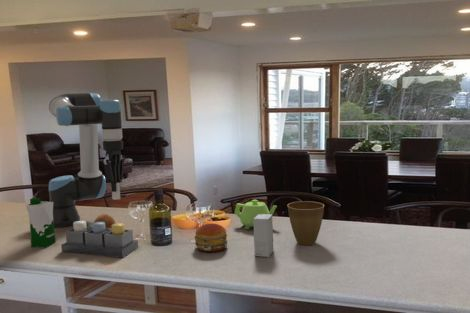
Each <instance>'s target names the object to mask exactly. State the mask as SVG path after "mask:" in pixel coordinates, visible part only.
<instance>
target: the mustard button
mask: <svg viewBox="0 0 470 313" xmlns="http://www.w3.org/2000/svg"><path fill="white" fill-rule="evenodd" d="M125 229H126V228H125V223H122V222H117V223H116V222H115V224H113V225H112V234H114V235H122V234H124V233H125Z"/></svg>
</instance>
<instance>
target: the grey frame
mask: <svg viewBox="0 0 470 313" xmlns="http://www.w3.org/2000/svg"><path fill="white" fill-rule="evenodd" d="M86 228H87V230H85V231H83V232H75V231H74V227H72V228H71V229H69V230H65V240H66V242H64V243H62V244H61V253H68V254H69V253H70V254H80V255H89V256H90V255H91V256H102V257H113V258H124V257H126V256H128V255H129V254H130V253H132V252H134V251H135V250H136V249H138V248H139V241H138V239H134V236H133V235H134V234H133V231H134V230H133V229H126V228H125V233H124V234H122V235H114V234H112V228H105V232H103V233H93V230H92V226H86Z"/></svg>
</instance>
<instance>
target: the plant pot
mask: <svg viewBox="0 0 470 313" xmlns="http://www.w3.org/2000/svg"><path fill="white" fill-rule="evenodd" d="M287 210H288V217H289V222H290V227H291V229H292V233H293V235H294V238H295V241H296V244H298V245H300V246H313V245H315V244H316V242H317V239H318V236H319V233H320V230H321V226H322V223H323V217H324V211H325V204H324V203H321V202H317V201H309V200H308V201H307V200H306V201H305V200H304V201H302V200H301V201H292V202H290V203H288V204H287Z"/></svg>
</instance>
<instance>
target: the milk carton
mask: <svg viewBox="0 0 470 313" xmlns="http://www.w3.org/2000/svg"><path fill="white" fill-rule="evenodd" d="M25 208H26V210H27V214H28V218H29V220H28V222H29V229H30V247H31V248H47V247H48V248H49V247H50V246H52V245H53V244H56V242H57V241H56V235H55V227H54V222H53V202H50V201H47V200H46V201H41V198H40V197H33V198H30V199H29V204H27V205H26V207H25Z"/></svg>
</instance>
